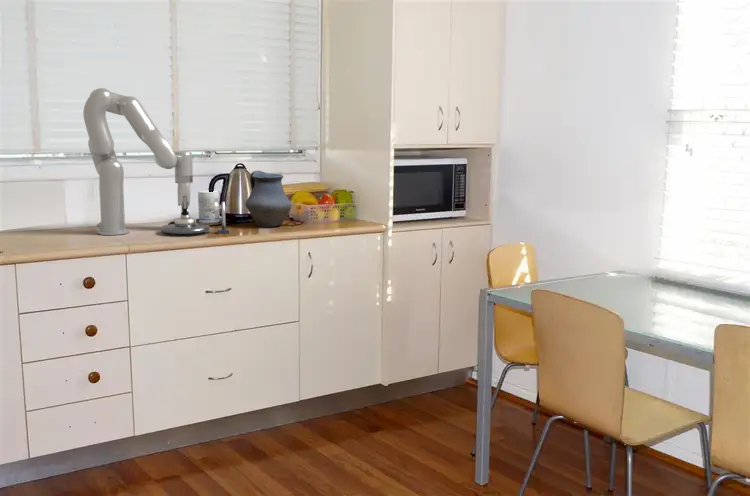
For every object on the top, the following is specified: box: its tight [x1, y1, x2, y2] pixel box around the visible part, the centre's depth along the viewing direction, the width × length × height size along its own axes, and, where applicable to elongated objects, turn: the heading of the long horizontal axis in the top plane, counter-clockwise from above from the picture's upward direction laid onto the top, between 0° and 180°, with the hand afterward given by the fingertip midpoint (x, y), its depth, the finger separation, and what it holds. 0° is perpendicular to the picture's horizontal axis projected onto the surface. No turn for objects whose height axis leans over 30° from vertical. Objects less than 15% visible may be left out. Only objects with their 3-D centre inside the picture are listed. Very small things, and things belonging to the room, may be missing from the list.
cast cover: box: [174, 214, 197, 227], centre depth 329 cm, size 9×9×5 cm
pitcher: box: [244, 170, 292, 228], centre depth 348 cm, size 21×22×25 cm
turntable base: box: [176, 233, 198, 236], centre depth 326 cm, size 10×10×1 cm
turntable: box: [160, 223, 211, 235], centre depth 326 cm, size 20×20×2 cm
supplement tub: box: [197, 189, 221, 224], centre depth 357 cm, size 10×10×15 cm
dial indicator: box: [208, 201, 231, 235], centre depth 327 cm, size 9×5×14 cm, turn 97°
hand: (185, 221), depth 335 cm, fingers closed
